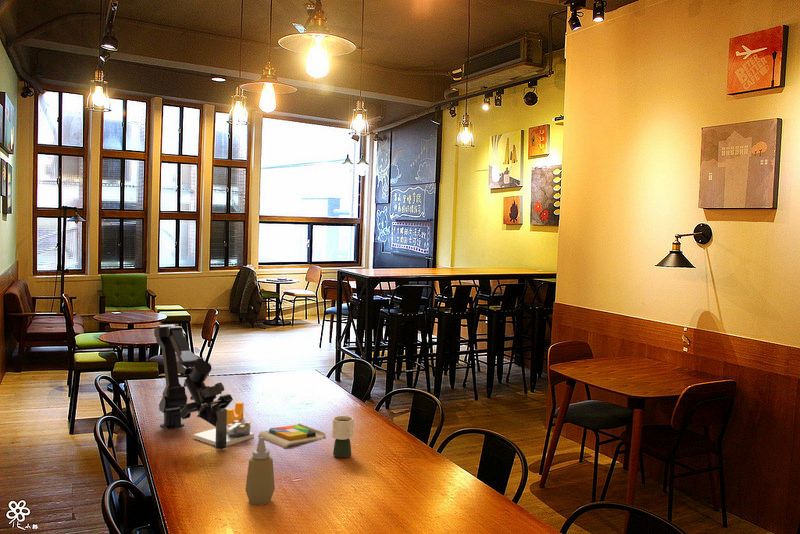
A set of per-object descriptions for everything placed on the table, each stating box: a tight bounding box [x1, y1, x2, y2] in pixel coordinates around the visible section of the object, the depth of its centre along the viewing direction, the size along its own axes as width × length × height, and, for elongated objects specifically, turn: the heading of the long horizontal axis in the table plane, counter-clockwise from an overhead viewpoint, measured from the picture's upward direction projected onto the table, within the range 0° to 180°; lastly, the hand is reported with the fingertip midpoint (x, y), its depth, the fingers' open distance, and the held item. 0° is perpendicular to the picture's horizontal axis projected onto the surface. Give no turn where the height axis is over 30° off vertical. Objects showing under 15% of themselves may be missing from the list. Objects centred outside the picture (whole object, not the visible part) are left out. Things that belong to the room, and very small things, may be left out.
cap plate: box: [193, 427, 255, 447], centre depth 225 cm, size 15×15×2 cm
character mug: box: [331, 415, 355, 459], centre depth 211 cm, size 11×7×13 cm, turn 33°
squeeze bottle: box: [245, 437, 276, 506], centre depth 173 cm, size 8×8×18 cm
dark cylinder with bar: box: [214, 408, 252, 450], centre depth 220 cm, size 8×19×13 cm, turn 167°
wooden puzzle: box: [258, 423, 326, 449], centre depth 229 cm, size 18×19×4 cm
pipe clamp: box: [226, 401, 245, 425], centre depth 245 cm, size 12×4×6 cm, turn 172°
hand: (217, 426), depth 214 cm, fingers closed, pressing on dark cylinder with bar
